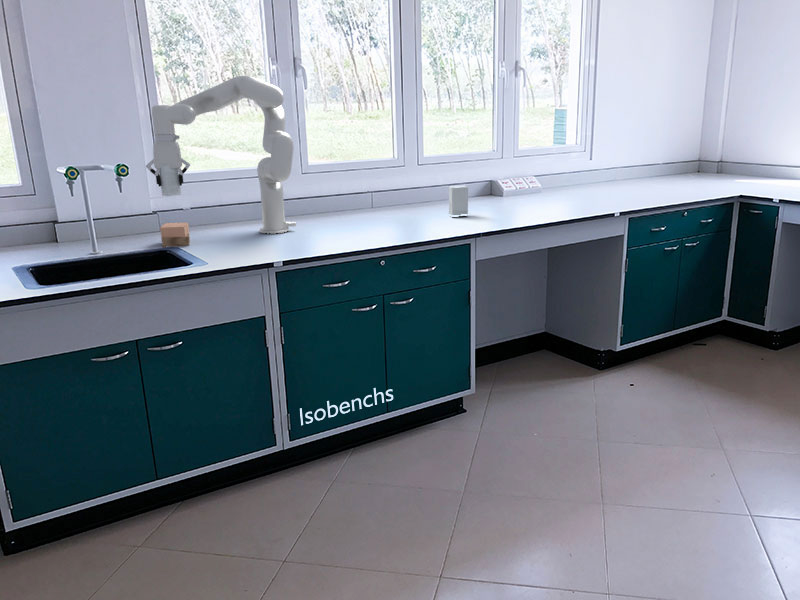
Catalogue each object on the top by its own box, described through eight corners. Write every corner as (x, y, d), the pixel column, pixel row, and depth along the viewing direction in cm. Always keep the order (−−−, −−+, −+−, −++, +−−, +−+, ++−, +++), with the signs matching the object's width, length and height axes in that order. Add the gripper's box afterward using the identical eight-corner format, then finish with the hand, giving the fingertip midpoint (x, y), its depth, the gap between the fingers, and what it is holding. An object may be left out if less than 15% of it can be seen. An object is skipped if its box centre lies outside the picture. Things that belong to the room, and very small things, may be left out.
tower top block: (189, 232, 265) (188, 222, 264) (185, 236, 257) (184, 226, 256) (166, 232, 264) (165, 223, 263) (161, 237, 256) (160, 227, 255)
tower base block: (189, 241, 268) (188, 231, 266) (189, 246, 258) (188, 236, 257) (164, 243, 265) (163, 233, 264) (162, 248, 256) (161, 238, 255)
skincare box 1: (175, 193, 259) (171, 163, 256) (181, 194, 257) (178, 163, 253) (161, 195, 255) (157, 164, 251) (167, 196, 252) (163, 165, 249)
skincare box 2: (464, 215, 321) (465, 184, 316) (468, 217, 315) (469, 186, 311) (447, 216, 319) (448, 185, 314) (451, 218, 313) (452, 187, 309)
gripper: (189, 137, 255) (193, 183, 260) (141, 138, 251) (147, 185, 256) (188, 138, 248) (193, 185, 254) (140, 140, 244) (145, 187, 249)
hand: (170, 185), depth 255 cm, fingers closed on skincare box 1, 7 cm apart
